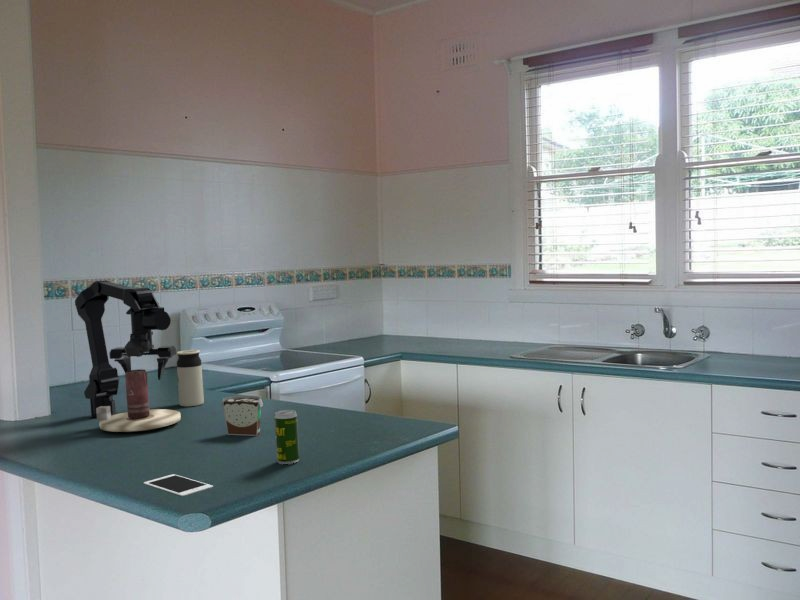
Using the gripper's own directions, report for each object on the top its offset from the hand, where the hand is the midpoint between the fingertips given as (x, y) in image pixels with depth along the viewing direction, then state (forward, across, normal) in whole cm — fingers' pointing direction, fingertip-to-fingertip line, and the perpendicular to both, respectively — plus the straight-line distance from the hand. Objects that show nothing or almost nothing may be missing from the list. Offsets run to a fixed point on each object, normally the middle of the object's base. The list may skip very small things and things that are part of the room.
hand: (144, 380), depth 241 cm
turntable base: (+13, 0, -6) cm, 14 cm away
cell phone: (+13, +31, -66) cm, 74 cm away
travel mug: (+13, +6, +25) cm, 29 cm away
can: (+10, 0, -6) cm, 12 cm away
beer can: (+12, +53, -50) cm, 74 cm away
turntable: (+12, 0, -6) cm, 13 cm away
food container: (+13, +36, -18) cm, 42 cm away
